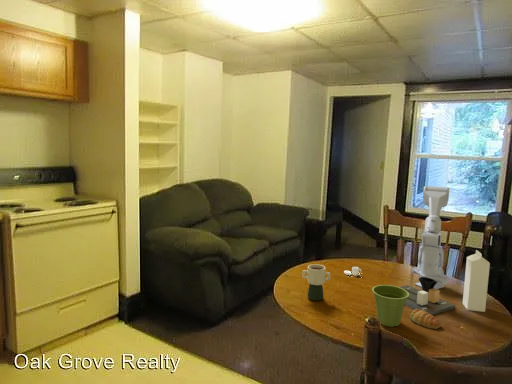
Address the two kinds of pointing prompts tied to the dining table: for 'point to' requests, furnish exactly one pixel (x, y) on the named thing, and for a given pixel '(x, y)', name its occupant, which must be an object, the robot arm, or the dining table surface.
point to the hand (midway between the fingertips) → (427, 296)
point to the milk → (476, 282)
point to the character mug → (316, 280)
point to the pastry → (424, 319)
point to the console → (430, 307)
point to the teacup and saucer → (353, 271)
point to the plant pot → (389, 303)
